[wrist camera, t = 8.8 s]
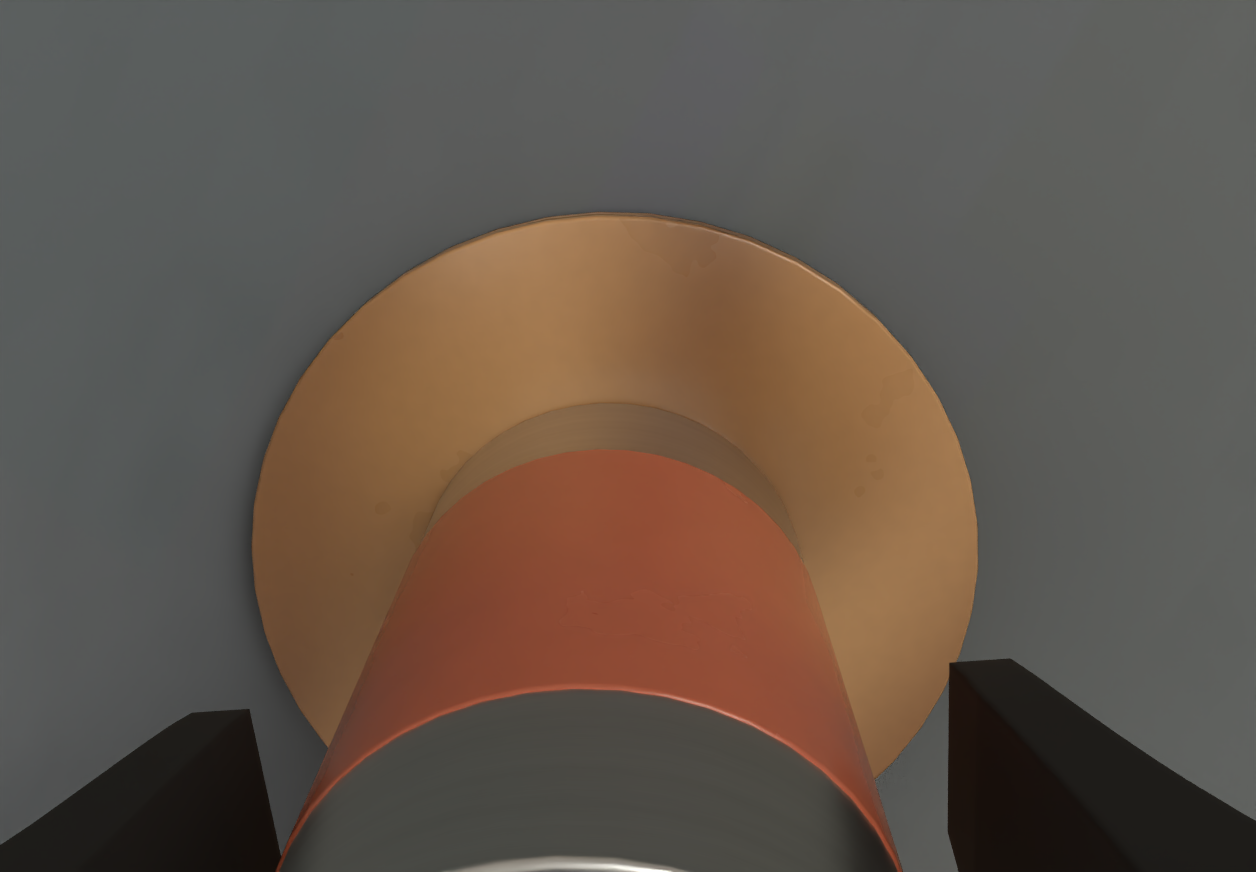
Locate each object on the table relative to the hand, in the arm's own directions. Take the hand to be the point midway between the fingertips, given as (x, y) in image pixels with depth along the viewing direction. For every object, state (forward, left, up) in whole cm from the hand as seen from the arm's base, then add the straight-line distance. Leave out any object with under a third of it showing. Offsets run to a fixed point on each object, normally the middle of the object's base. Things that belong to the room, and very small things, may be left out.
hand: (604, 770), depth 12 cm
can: (0, 0, -4) cm, 4 cm away
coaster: (0, 0, -5) cm, 5 cm away
